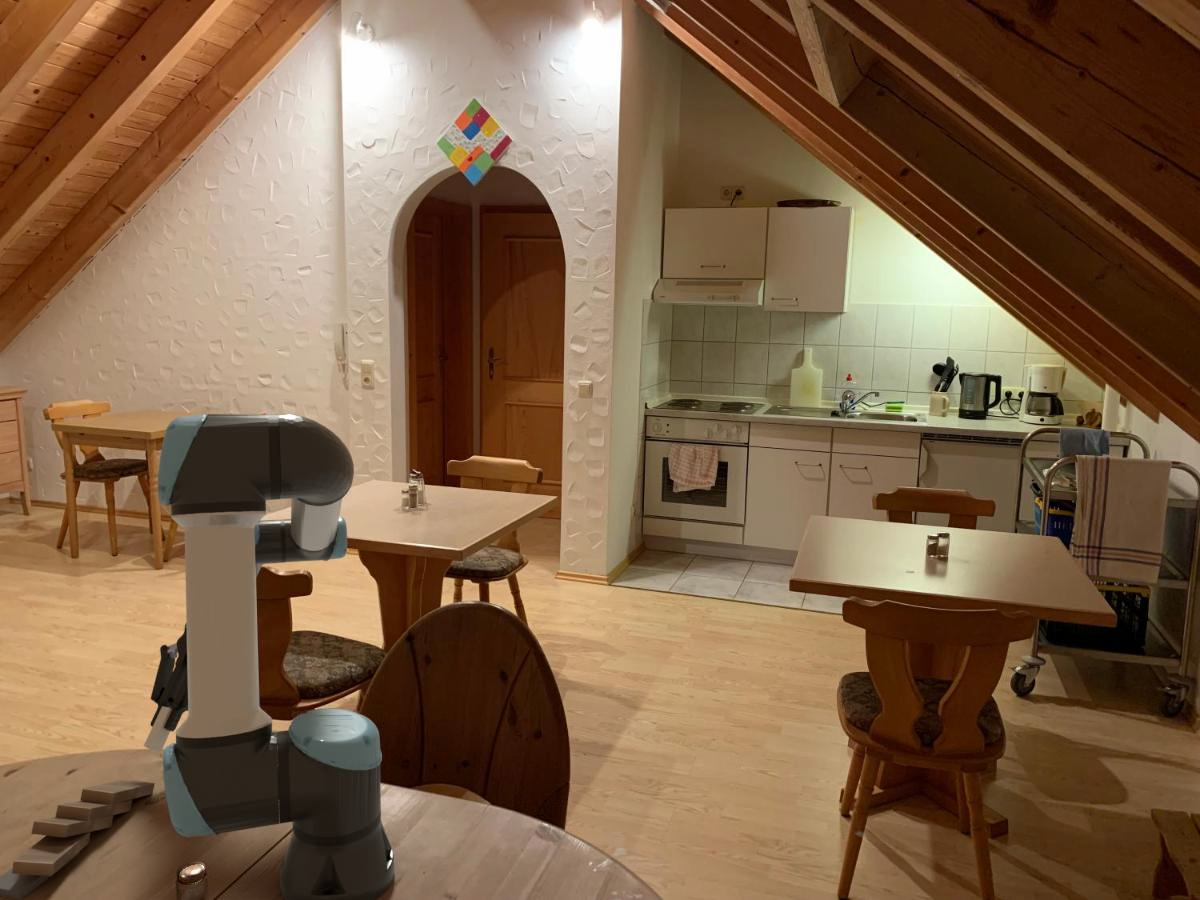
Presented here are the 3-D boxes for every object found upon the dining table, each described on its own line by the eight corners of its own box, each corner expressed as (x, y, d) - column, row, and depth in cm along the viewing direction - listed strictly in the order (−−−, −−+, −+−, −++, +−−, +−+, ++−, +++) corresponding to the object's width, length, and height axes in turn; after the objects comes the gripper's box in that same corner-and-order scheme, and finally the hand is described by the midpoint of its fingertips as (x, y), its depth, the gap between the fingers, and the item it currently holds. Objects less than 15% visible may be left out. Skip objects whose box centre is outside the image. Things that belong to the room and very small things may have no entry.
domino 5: (126, 779, 144) (82, 788, 134) (154, 783, 143) (112, 793, 134) (124, 789, 144) (80, 800, 134) (152, 793, 143) (110, 804, 133)
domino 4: (102, 796, 139) (57, 805, 130) (132, 800, 139) (90, 808, 129) (99, 807, 139) (55, 816, 129) (130, 811, 138) (87, 820, 129)
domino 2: (54, 828, 129) (13, 861, 119) (90, 831, 129) (52, 863, 119) (53, 840, 129) (12, 873, 119) (89, 842, 129) (51, 876, 119)
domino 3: (49, 841, 129) (-13, 885, 119) (78, 847, 128) (19, 892, 118) (49, 851, 129) (-12, 896, 119) (79, 857, 128) (20, 903, 118)
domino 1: (82, 811, 135) (34, 821, 125) (113, 815, 134) (66, 825, 124) (80, 823, 134) (31, 833, 125) (111, 826, 134) (64, 837, 124)
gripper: (257, 628, 159) (199, 762, 147) (193, 619, 162) (130, 749, 150) (237, 610, 153) (174, 748, 141) (171, 600, 156) (104, 735, 144)
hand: (152, 749), depth 145 cm, fingers closed
